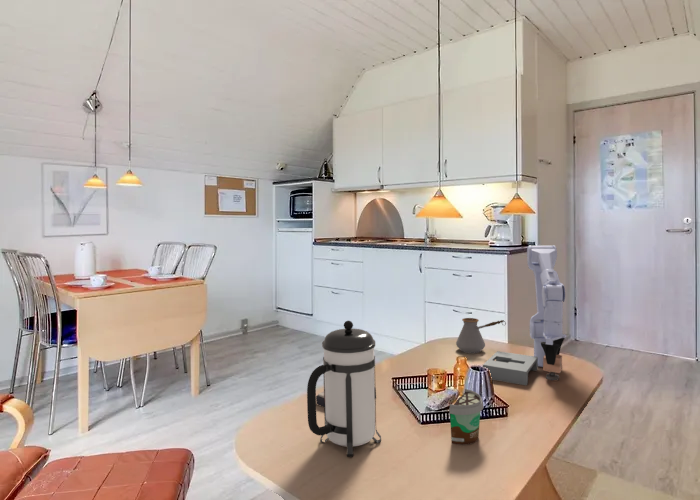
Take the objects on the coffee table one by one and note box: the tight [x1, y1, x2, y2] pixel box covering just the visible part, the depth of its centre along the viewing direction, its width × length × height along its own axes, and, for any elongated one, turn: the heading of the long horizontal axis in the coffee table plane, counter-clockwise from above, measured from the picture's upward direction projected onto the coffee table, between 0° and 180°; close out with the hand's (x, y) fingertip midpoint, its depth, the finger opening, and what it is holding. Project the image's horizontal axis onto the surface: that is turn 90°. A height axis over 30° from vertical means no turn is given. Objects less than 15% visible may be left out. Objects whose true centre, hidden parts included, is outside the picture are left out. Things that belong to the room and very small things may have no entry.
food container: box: [448, 388, 484, 446], centre depth 110 cm, size 12×6×10 cm, turn 148°
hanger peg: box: [542, 354, 563, 381], centre depth 150 cm, size 5×5×8 cm
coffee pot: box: [455, 317, 507, 354], centre depth 179 cm, size 21×12×15 cm, turn 39°
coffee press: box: [306, 320, 382, 458], centre depth 108 cm, size 17×16×30 cm
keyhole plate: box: [482, 350, 539, 386], centre depth 155 cm, size 18×14×4 cm
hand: (552, 361), depth 149 cm, fingers open, 7 cm apart
